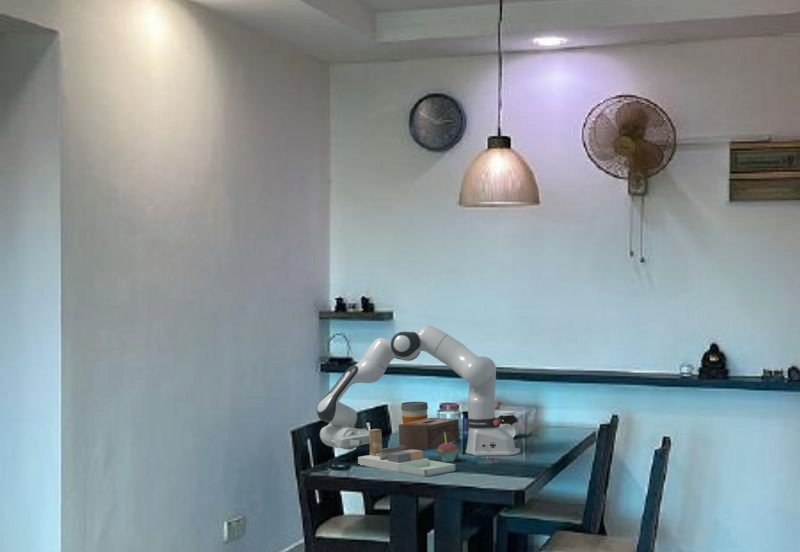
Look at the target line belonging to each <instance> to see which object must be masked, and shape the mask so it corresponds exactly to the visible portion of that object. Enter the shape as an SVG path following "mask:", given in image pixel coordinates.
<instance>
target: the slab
mask: <svg viewBox="0 0 800 552" xmlns="http://www.w3.org/2000/svg"><path fill="white" fill-rule="evenodd" d="M426 460H430V459H429V458H428V457H423V459H418V460H412V461H406V462H401V463H395V462H389V461H388V459H385V460H380V457H379V456H372V455H370V454H369V455H363V456H362V455H361V456H358V457H357V464H360V465H359V466H363V465H364V467H368V468H369V467H370V468H375V469H380V470H387V471H391V472H395V473H396V472H398V473H400V472H399V465H404V464H409V463H415V462H420V461H426Z"/></svg>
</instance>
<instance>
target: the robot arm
mask: <svg viewBox="0 0 800 552" xmlns="http://www.w3.org/2000/svg"><path fill="white" fill-rule="evenodd" d="M421 352H426V353H427V354H429V355H431V356H432V357H434V358H435V359H437V360H438V361H439V362H441V363H443V364H444V365H445V366H447V367H449V368H450V369H451V370H452V371H453V372H454V373H456V375H458V376H460V378H462V379H463V380H464V381H466V382H467V383H468V385H469V387H468V394H467V395H468V396H467V416H468V417H467V418H466V419H467V421H466V428H467V429H466V430H467V443H466V449H465V453H466V454H469V455H473V456H475V457H476V456H477V457H478V456H514V455H515V456H516V455H518V454H520V452H521V448H519V447H516V444H515V440H514V439H515V438H513V437H512V436H511V435H510V434H509V433H507V432H506V431H505V430H503V429H502V428H501V427H500V419H497V418H498V417H496V409H495V408H496V407H495V394H496V380H497V376H496V375H497V366H496V364H495V362H494V360H492V359H491V358H490V357H488V356H482V355H481V356H478V355H477V354H475V353H474V352H472V350H470V349H468V347H467V346H466V345H465V344H464V343H462V342H461V341H459V340H458V339H456V338H454V337H452V336H451V335H450V334H448V333H446V332H444V331H443V330H440V329H439V328H437V327H435V326H433V325H425V326H422V327H421V328H420V329H419V330H418V332H415V331H399V332H397V333H395V334H394V335H393V336H392V337H391V340H390V339H387V338H384V337H378V338H376V339H375V340H374V341H373V342H372V343H371V344H370V346H369V347H368V348H367V350H366V351H365V353H364V354H363V357H362V358H361V359H360V360H359V361H358V362H357V363H356V364H355V365H351V366H349V367H348V368H347V369H346V370H345V371H344V372H343V374H342V375H341V376H340V377H339V379H338V380H337V381H336V382H335V384H334V385H333V386H332V388H331V389H330V390H329V392H328V393H327V394H326V395H325V396H324V397H323V398H322V399H321V400H320V401H319V402H318V403H317V406H316V414H317V417H318V419H319V420H320V421H323V422H326V423H328V424H327V425H325V426H323V427H321V429H320V432H319V437H320V440H321V441H322V443H323V444H325V445H326V446H328V447H331V448H337V449H338V448H339V449H343V450H349V451H350V450H355V448H358V447H361V446H364V445H370V443H369V430H370V429H368V430H367V428H364V427H362V428H357V424H358V420H359V419H358V412H357V410H356V409H354V408H352V407H350V406H349V405H346V404H344V403H342V402H340V400H341V399H342V397H343V396H344V395H345V394H346V392H347V391H348V390H349V389H350V387H352V385H355V384H358V383H363V384H371V383H372V384H373V383H376V382H378V381H379V380H381V378H382V377H383V376H384V374H385V372H386V370H387V368H388V367H389V365H390V363H391V362H392V360H394V359H397V360H402V361H406V362H410V361H414V360H415V359H417V358H418V357H419V355H420V354H421Z"/></svg>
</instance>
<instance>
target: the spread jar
mask: <svg viewBox="0 0 800 552" xmlns="http://www.w3.org/2000/svg"><path fill="white" fill-rule="evenodd" d="M498 415H499V416H498V417H496V418H497V419H500V427H501V428H502V429H503V430H505V431H506V432H507V433H509V434H510V435H511V436H512V437H513V439H516V437H518V435H519V433H520V424H519V423H520V421H519V420H518V418H517V416H515V411H514V410H500V411H499V412H498Z"/></svg>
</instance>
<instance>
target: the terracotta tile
mask: <svg viewBox="0 0 800 552" xmlns="http://www.w3.org/2000/svg"><path fill="white" fill-rule="evenodd" d="M401 452H407V453H410V461H412V460H418V459H423V458H424V453H423V450H422V449H414V448H410V449H405V451H401Z"/></svg>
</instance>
